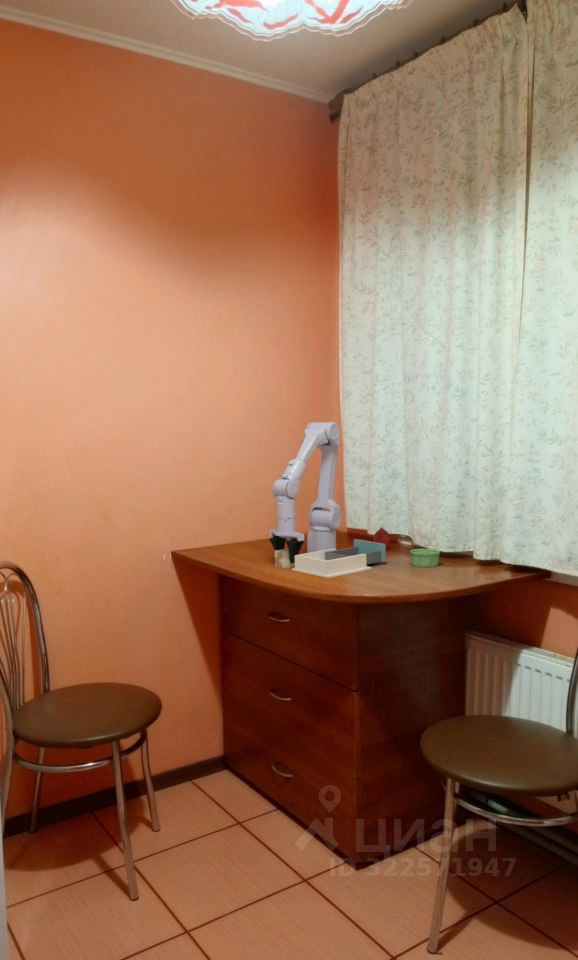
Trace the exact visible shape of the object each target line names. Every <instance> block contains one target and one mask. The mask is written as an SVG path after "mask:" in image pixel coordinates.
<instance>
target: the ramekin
mask: <svg viewBox="0 0 578 960" xmlns="http://www.w3.org/2000/svg"><path fill="white" fill-rule="evenodd" d="M409 553H410V562H411V565H412V566H413V567H417V568H435V566H436V567H437V566H438V565H439V563H440V562H439V560H440V554H441V551H440V550H438V549H433V548H416V549H414V548H413V549H411V550H410V551H409Z"/></svg>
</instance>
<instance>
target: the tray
mask: <svg viewBox="0 0 578 960" xmlns="http://www.w3.org/2000/svg"><path fill="white" fill-rule="evenodd" d="M386 549H387V547H386V544H382V543H376V542H374V541H368V540H364V539H355V538H354V539H353V546H352V547H348V548H347V547H346V548H342V549H337V550H335V551H330V552H325V560H326V561H327V560H333V559H338V558H343V557H349V556H354V555H359V554H366V565H370V564H375V563H380V562H382V563H386V562H387V561H386V558H387V556H386V555H387V553H386V552H387V551H386Z"/></svg>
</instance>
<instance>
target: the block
mask: <svg viewBox="0 0 578 960" xmlns="http://www.w3.org/2000/svg"><path fill="white" fill-rule="evenodd" d="M274 567H276V568H281V569H288V568H295V563H290V557H289V549H288V548H284V549H282V550H276V551H274Z"/></svg>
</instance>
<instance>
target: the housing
mask: <svg viewBox="0 0 578 960" xmlns="http://www.w3.org/2000/svg"><path fill="white" fill-rule="evenodd" d="M335 550H338V549H337V548H336V549H328V550H322V551H316V552H311V553H307V552H306V553H299V555H295V566H294V567H291V569H292V571H295V572H300V573H304V574H307V575H308V574H309V575H313V576H317V577H322V578H326V579H332V578H337V577H340V576H346V575H350V574H354V573H361V572H364V571H365V572H366V571H370V570H372V569H373V567H372V566H368V565H367V564H366V554H359V555H354V556H349V557H343V558H338V559H333V560H327V561H326V560H325V552H330V551H335Z"/></svg>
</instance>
